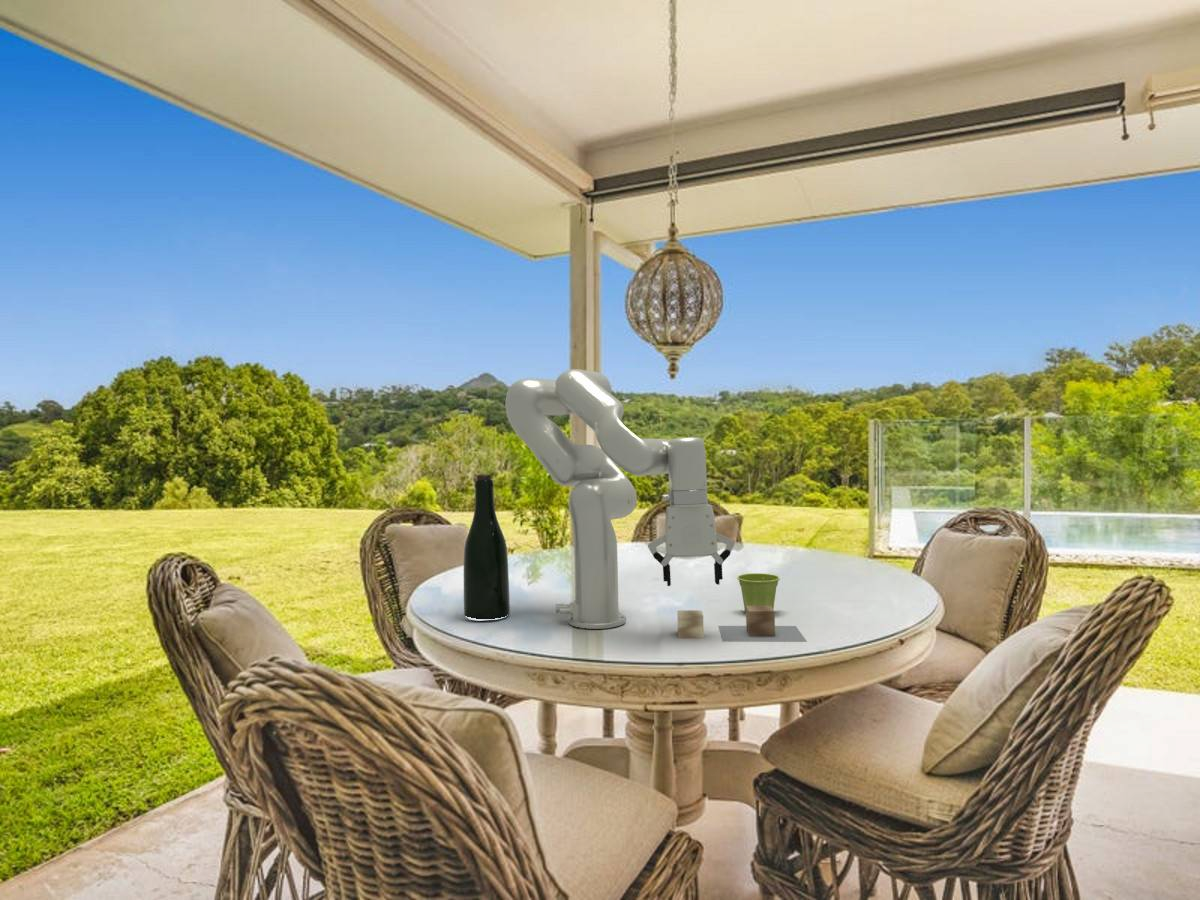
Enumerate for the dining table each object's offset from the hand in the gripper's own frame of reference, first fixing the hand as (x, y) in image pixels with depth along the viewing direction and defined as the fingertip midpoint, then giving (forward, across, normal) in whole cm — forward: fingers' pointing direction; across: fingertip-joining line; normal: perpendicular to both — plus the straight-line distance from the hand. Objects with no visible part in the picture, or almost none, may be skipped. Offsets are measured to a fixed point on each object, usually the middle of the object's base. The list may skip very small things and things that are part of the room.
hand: (693, 584), depth 144 cm
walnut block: (+11, +13, +2) cm, 17 cm away
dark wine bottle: (+9, -47, +18) cm, 51 cm away
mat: (+11, +13, +2) cm, 17 cm away
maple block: (+11, -1, +1) cm, 11 cm away
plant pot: (+11, +15, +20) cm, 27 cm away
